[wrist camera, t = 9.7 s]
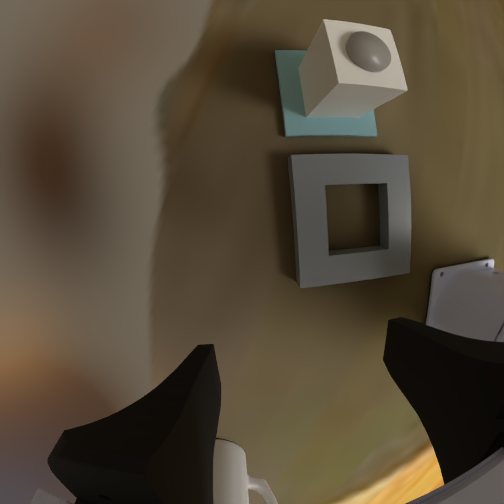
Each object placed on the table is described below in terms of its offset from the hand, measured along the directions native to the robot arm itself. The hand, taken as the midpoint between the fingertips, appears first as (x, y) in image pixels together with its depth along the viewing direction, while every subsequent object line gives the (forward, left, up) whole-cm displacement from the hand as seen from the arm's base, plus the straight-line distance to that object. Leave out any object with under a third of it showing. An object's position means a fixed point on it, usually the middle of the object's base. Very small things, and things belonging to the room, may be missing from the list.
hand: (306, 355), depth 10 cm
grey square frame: (-6, -4, -10) cm, 13 cm away
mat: (-5, -14, -10) cm, 18 cm away
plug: (-5, -13, -10) cm, 17 cm away
